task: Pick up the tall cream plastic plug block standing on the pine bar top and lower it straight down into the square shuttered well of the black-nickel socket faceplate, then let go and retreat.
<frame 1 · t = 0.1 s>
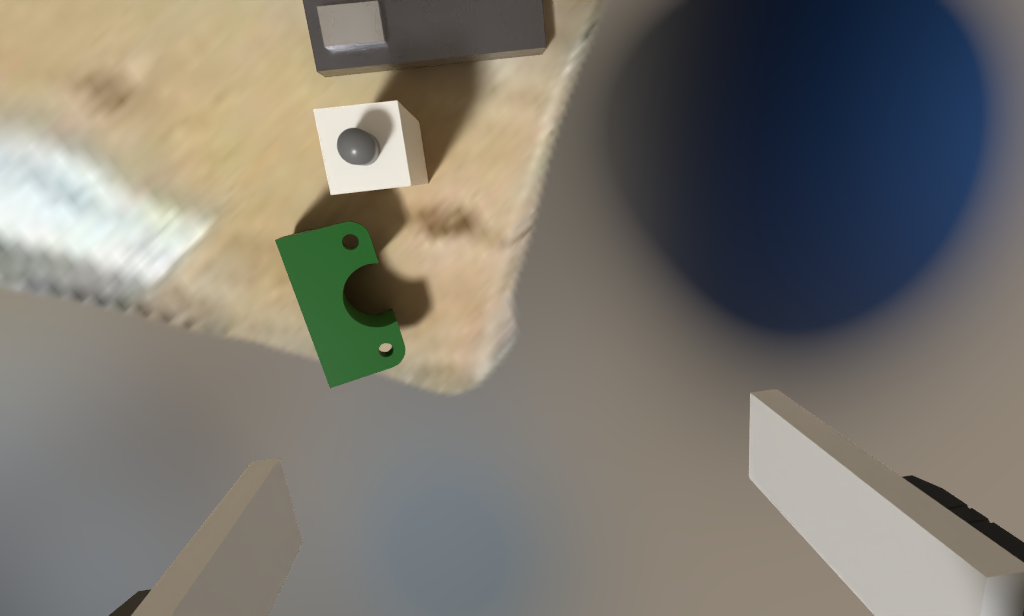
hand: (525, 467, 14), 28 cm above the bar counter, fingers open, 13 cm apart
plug: (394, 156, 38), on the bar counter
clamp: (355, 290, 40), on the bar counter
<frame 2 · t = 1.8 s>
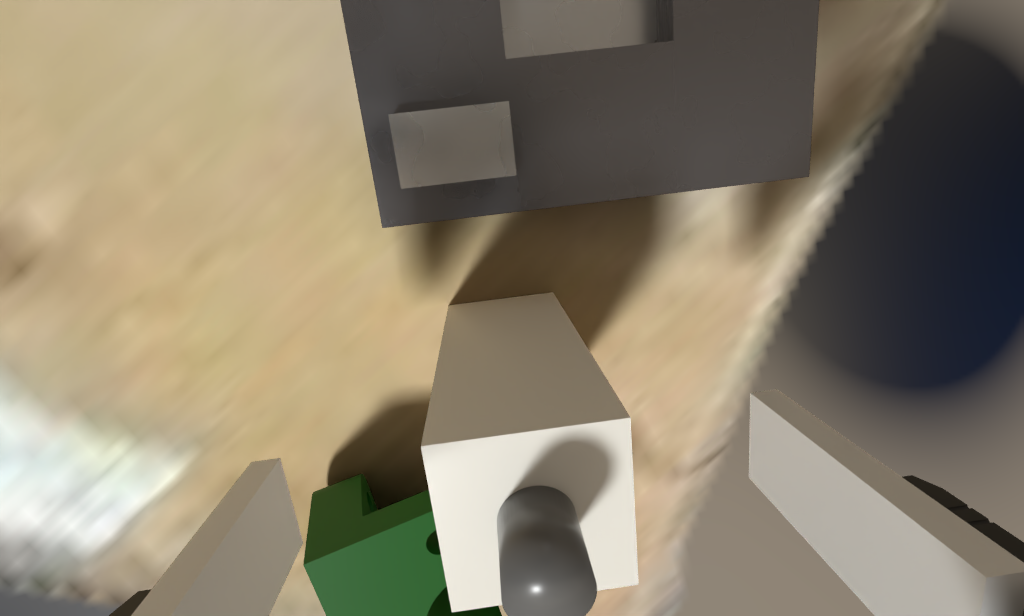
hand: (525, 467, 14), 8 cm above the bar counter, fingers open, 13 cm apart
plug: (507, 347, 22), on the bar counter
clamp: (426, 546, 25), on the bar counter
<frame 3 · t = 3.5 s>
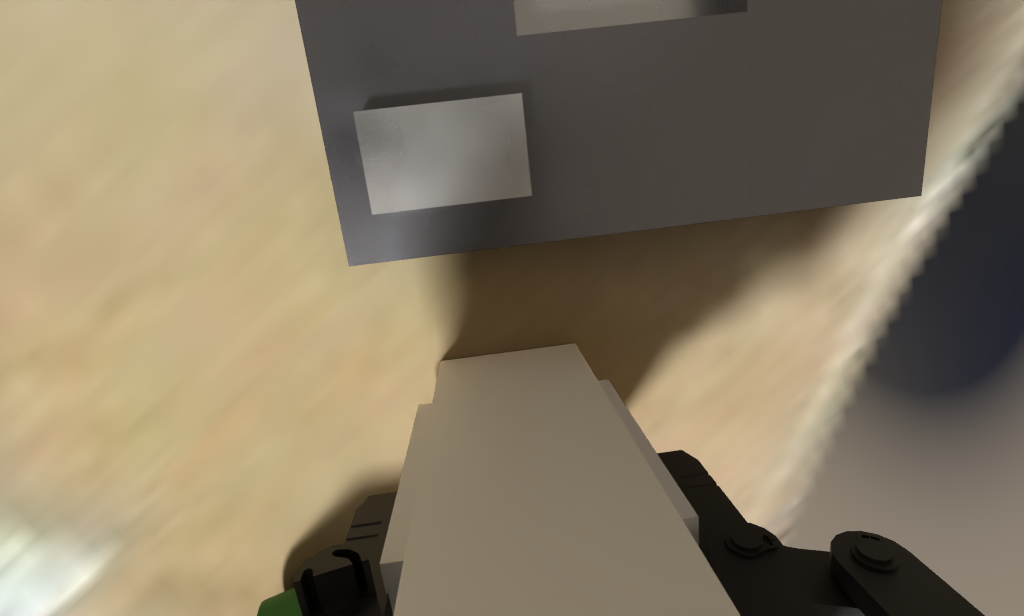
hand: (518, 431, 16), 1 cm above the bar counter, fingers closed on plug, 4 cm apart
plug: (515, 413, 17), on the bar counter, touching gripper
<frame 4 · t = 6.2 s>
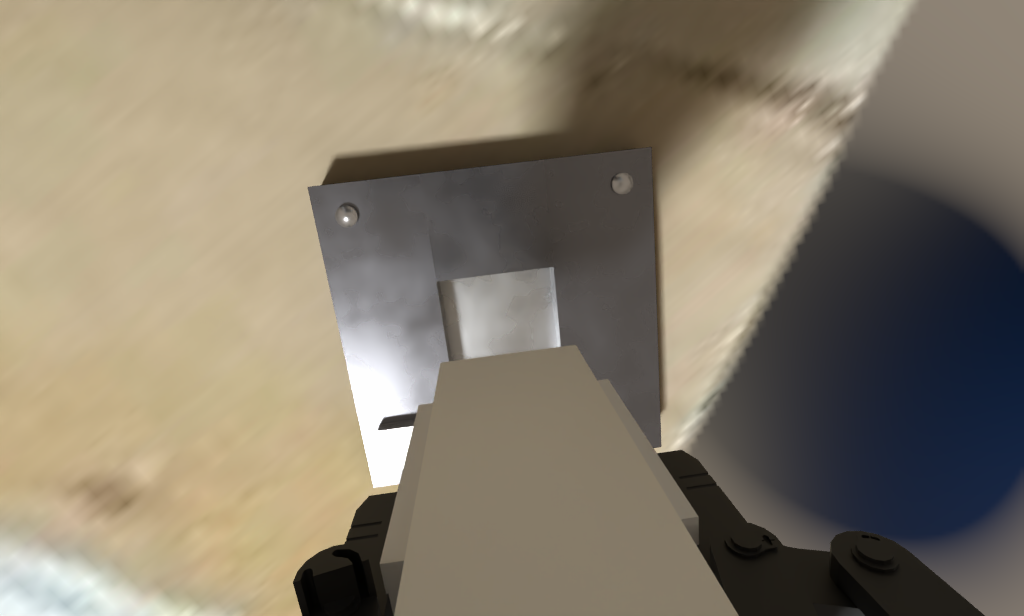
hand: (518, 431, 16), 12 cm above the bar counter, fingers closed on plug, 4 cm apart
plug: (516, 415, 17), point 10 cm above the bar counter, touching gripper
socket: (500, 318, 27), on the bar counter
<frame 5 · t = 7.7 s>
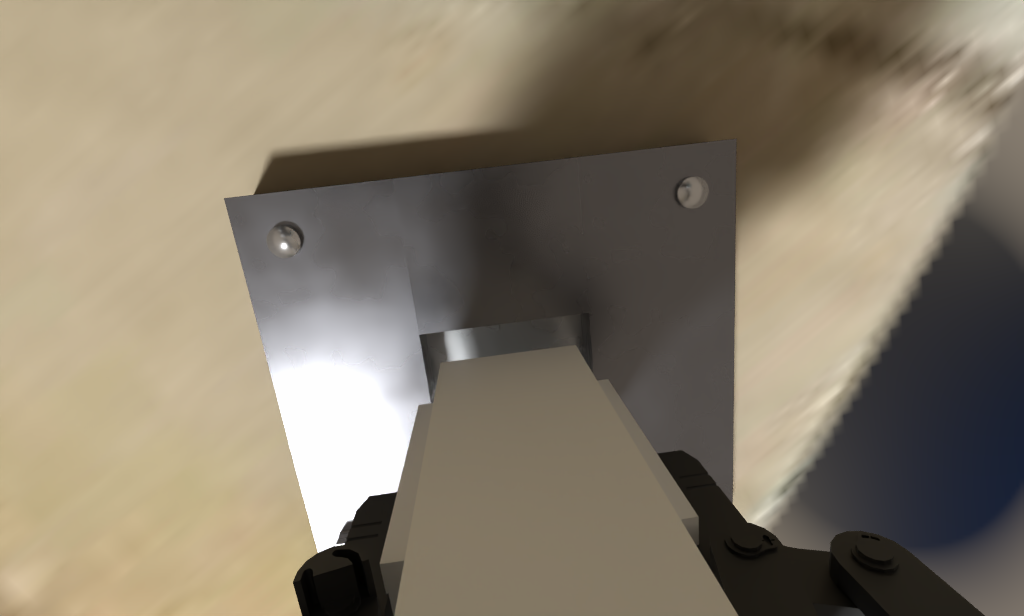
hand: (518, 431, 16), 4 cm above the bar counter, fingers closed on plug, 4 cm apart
plug: (516, 415, 17), point 3 cm above the bar counter, touching gripper
socket: (510, 378, 19), on the bar counter
when the fingers open (3 cm above the bar counter, at t = 8.8 s): plug drops 1 cm, resting on socket.
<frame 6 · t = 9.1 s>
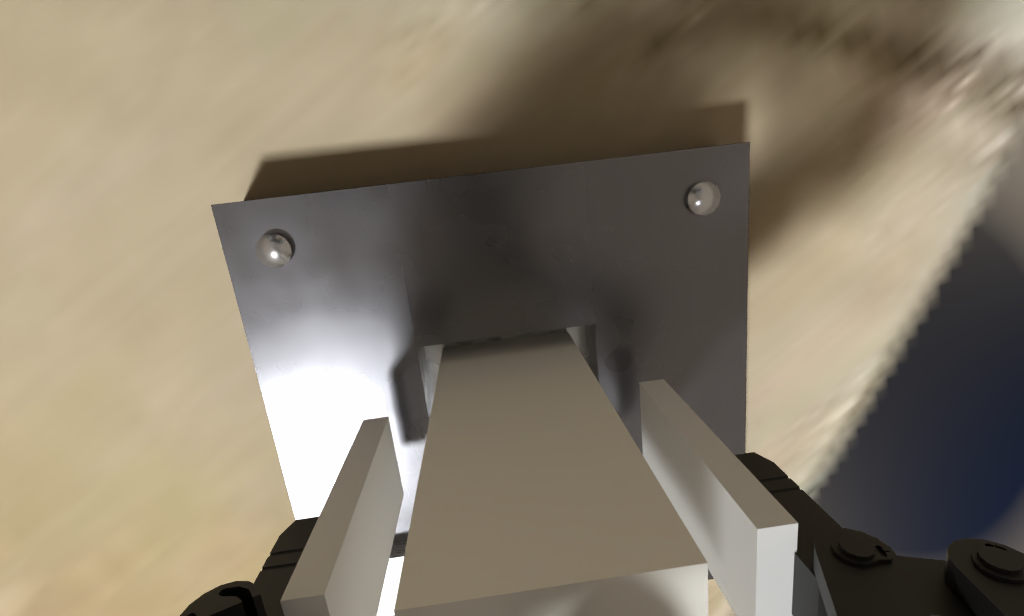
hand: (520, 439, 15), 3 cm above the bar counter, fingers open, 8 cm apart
plug: (512, 396, 18), resting on socket
socket: (511, 391, 19), on the bar counter
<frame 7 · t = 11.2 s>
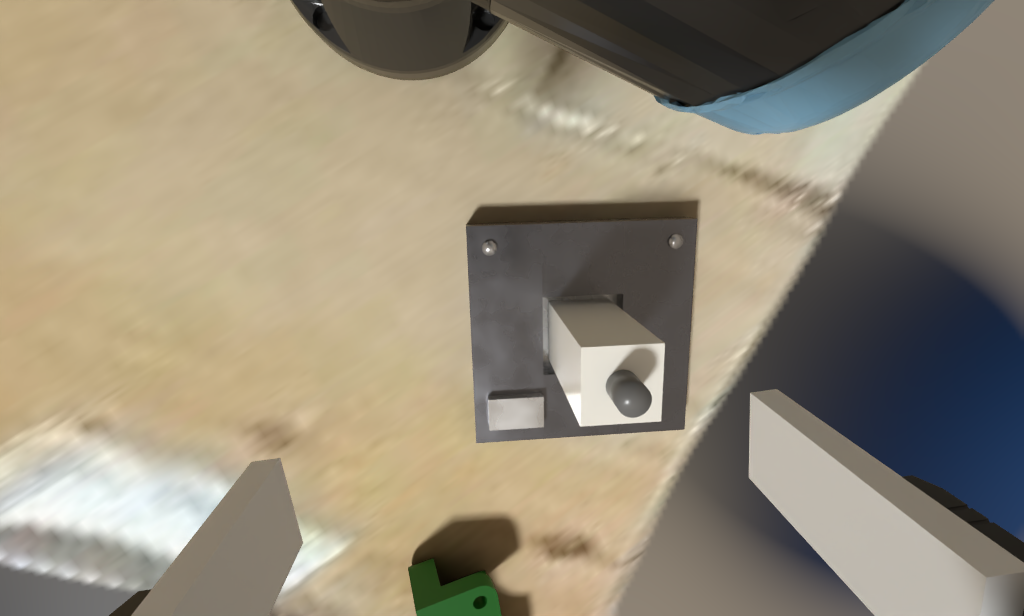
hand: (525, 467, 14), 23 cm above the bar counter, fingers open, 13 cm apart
plug: (578, 329, 37), resting on socket
socket: (576, 327, 37), on the bar counter
clamp: (461, 599, 43), on the bar counter
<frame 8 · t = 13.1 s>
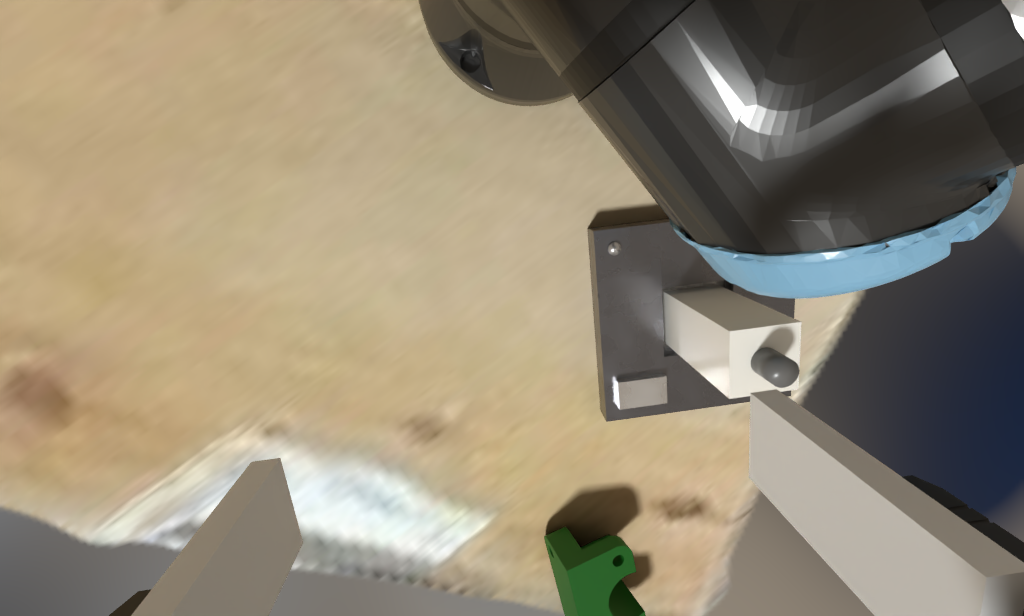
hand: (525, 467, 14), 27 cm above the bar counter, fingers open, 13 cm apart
plug: (689, 313, 41), resting on socket
socket: (687, 312, 41), on the bar counter
clamp: (589, 562, 48), on the bar counter
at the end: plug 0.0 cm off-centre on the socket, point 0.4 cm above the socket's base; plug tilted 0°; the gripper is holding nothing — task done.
